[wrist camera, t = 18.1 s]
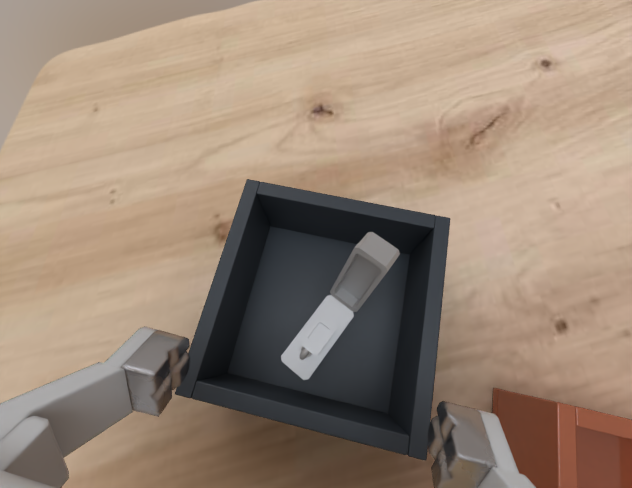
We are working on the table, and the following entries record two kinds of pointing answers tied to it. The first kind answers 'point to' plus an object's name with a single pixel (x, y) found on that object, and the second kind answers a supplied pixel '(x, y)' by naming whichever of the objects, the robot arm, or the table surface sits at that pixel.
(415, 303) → the grey bin
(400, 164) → the table surface
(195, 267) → the table surface
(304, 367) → the lighter
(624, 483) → the terracotta bin
